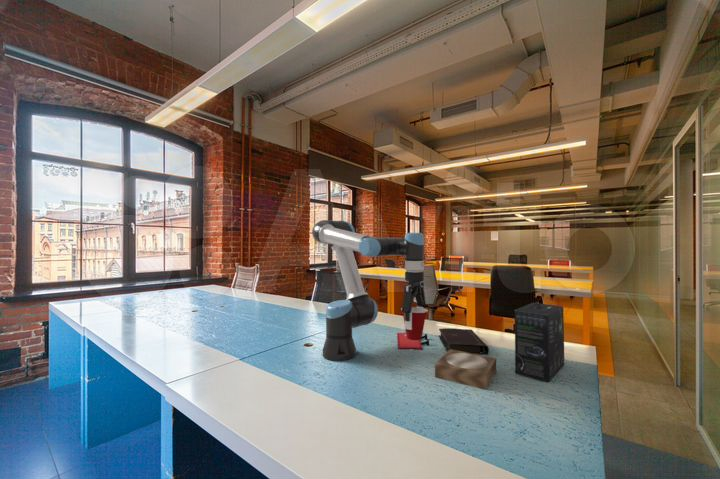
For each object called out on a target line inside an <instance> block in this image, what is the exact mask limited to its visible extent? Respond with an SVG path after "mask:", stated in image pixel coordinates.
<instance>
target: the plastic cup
mask: <svg viewBox="0 0 720 479" xmlns="http://www.w3.org/2000/svg"><path fill="white" fill-rule="evenodd" d="M400 310H401V313H402V317H403V323H404V324H403V325H405V312H402V307H401V308H400ZM428 311H429V310H428V309H427V308H424V307H423V308H417V307H416V306H415V307H413V306H412V309H411V313H412V330H409V329H405V328H404V331H405V333H406V335H407V338H408V339H410V340H420V341H421V340H422V339H421V338H422V336H423V332H424V329H425V328H424V327H425V321H426V316H427V313H428Z"/></svg>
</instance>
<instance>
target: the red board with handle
mask: <svg viewBox="0 0 720 479" xmlns="http://www.w3.org/2000/svg"><path fill="white" fill-rule="evenodd" d="M396 336H397V349H398V350H409V349H413V350H417V351H424V350H423V345H426V346H428V347H429V346H430V339H428V334H427V333H424V335H422V338H421V339H420V340H410V339H408V338H407V335H406V332H397V333H396ZM422 339H425V341H422V342H421V340H422Z"/></svg>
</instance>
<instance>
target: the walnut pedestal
mask: <svg viewBox="0 0 720 479" xmlns="http://www.w3.org/2000/svg"><path fill="white" fill-rule="evenodd" d="M496 373H497V358H496V357H494V356H493V357H492V356H487V355H484V354H473V353H467V352H462V351H457V350H452V349H450V350H449V351H448V352H447V351H446V352H445V353H444V355H442V356H441V357H440V358H439V359H438V360H437V361H436V362H434V378H436V379H441V380H445V381H450V382H453V383H457V384H461V385H466V386H469V387H473V388H478V389H481V390H488V387H489V386H490V384H491V382H492V380H493V379H494V376H495V375H496Z"/></svg>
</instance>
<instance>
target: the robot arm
mask: <svg viewBox="0 0 720 479" xmlns="http://www.w3.org/2000/svg"><path fill="white" fill-rule="evenodd" d="M311 232H312V234H311V235H312V237H313V239H314V240H315V241H316V242H317V243H320V244H323V245H330V248H331V249H332V250H333V251H334V252H335V255H336V259H337V262H338V266H339V269H340V273H341V277H342V281H343V285H344V288H345V292H346V295H347V296H346V299H340V300H334V301H332V302H329V303H328V304H327V305H326V308H325V323H326V324H325V327H326V328H325V330H326V331H325V332H326V336H325V337H326V338H325V341H324V344H323V348H322V358H323V359H326V360H329V361H335V362H336V361H337V362H338V361H347V360H351V359H353V358H355V357H356V356H357V347H356V345H355V341H354V339H353V329H354V328H358V327H361V326H367V325H369V324H372V323H374V321H375V320H376V319H377V317H378V313H379V308H378V307H379V306H378V304H377V302H376V301H375V300H374V299H373V298H371V297H370V295H369V293H368V292H366V291H365V288H364V286H363V282H362V278H361V275H360V272H359V268H358V265H357V261H356V258H355V257H356V256H355V253H354V252H357V253H360V255H361V256H363V257H365V258H375V257H376V258H378V257H388V256H390V257H391V256H393V257H394V256H401V257H402V256H403V257H404V270H405V272H404V281H406V282H408V284H407V285H404V289H403V291H404V292H403V297H402V298H403V299H402V306H401V308H402V310H401V313H402V312H405V324H404V330H405V329H409V330H412V313H411V309H412V307H413V303H414V301H416V305H417V306H416V308H423V309H424V308H426V306H427V305H426V304H427V303H426V302H427V301H426V296H425V287H424V285H425V283H424V280H425V272H424V270H425V269H424V268H425V265H426V264H425V261H424V260H425V259H424V258H425V256H424V255H425V239H424V238H425V237H424V233H421V232H406V233H405V234H404V237H374V236H370V235H366V234H362V233H358V232H356V230H355V227H354V226H353V224H352V223H351V222H349V221H345V220H330V219H329V220H327V219H324V220H323V219H322V220H318V222H316V223H314V225H313V227H312V229H311ZM414 299H415V300H414Z"/></svg>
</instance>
